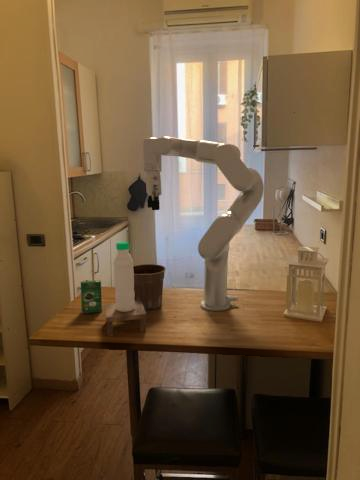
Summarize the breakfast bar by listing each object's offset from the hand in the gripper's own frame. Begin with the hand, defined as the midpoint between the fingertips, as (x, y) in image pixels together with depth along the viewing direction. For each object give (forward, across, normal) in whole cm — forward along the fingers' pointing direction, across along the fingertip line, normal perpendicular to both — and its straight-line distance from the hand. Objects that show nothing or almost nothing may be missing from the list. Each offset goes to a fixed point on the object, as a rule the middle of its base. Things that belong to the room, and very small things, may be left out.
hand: (153, 208), depth 164 cm
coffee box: (+41, -9, +28) cm, 50 cm away
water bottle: (+34, -28, +17) cm, 47 cm away
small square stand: (+40, -27, +17) cm, 51 cm away
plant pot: (+41, -8, +5) cm, 42 cm away
